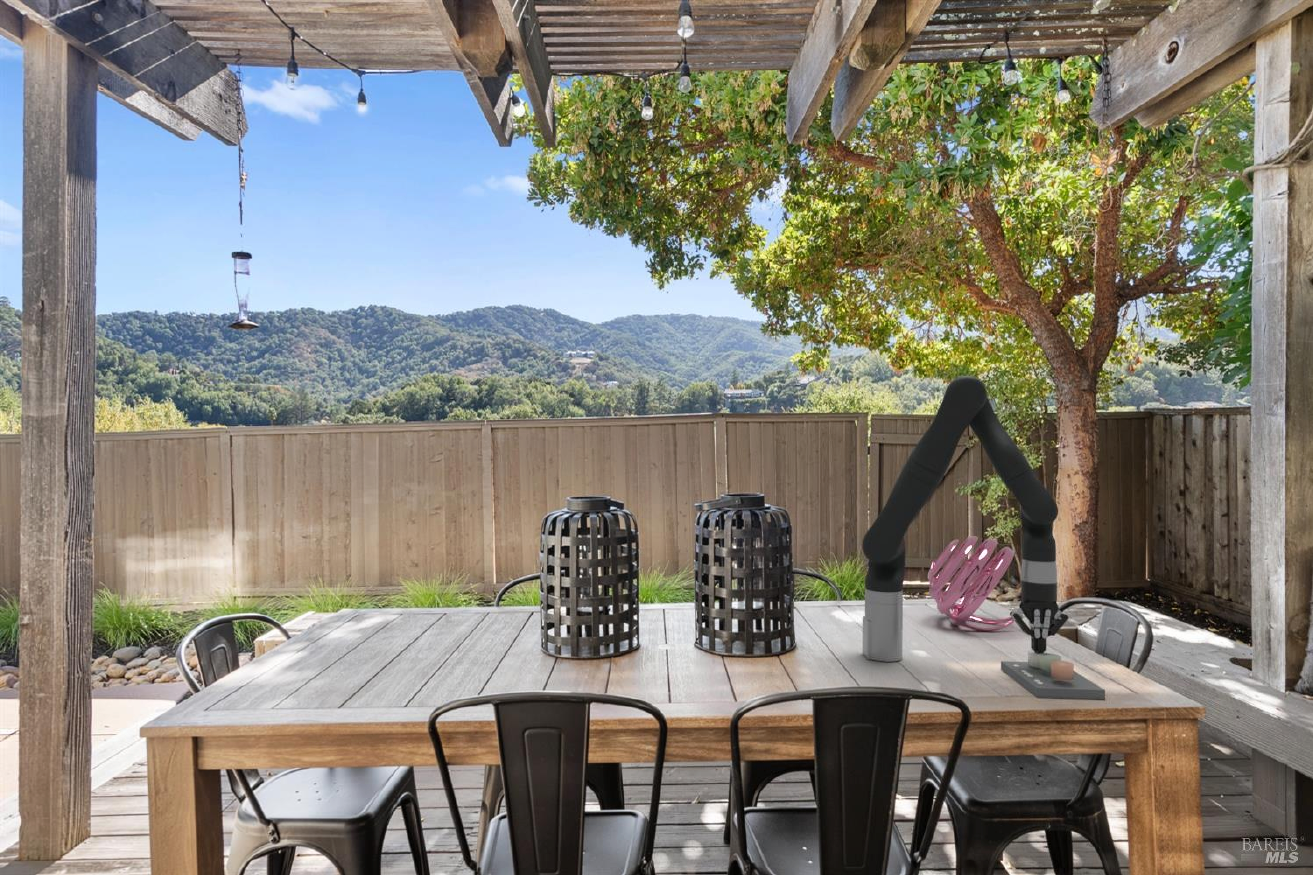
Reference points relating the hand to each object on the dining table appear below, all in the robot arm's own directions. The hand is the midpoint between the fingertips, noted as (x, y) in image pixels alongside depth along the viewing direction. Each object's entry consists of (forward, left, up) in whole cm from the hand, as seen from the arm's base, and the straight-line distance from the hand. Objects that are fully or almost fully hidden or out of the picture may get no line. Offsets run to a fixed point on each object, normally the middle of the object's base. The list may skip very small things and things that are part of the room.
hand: (1038, 653), depth 177 cm
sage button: (0, -6, -2) cm, 6 cm away
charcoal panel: (0, -6, -5) cm, 8 cm away
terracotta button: (0, -12, -2) cm, 12 cm away
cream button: (0, 0, -3) cm, 3 cm away
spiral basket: (+1, +49, -6) cm, 49 cm away
